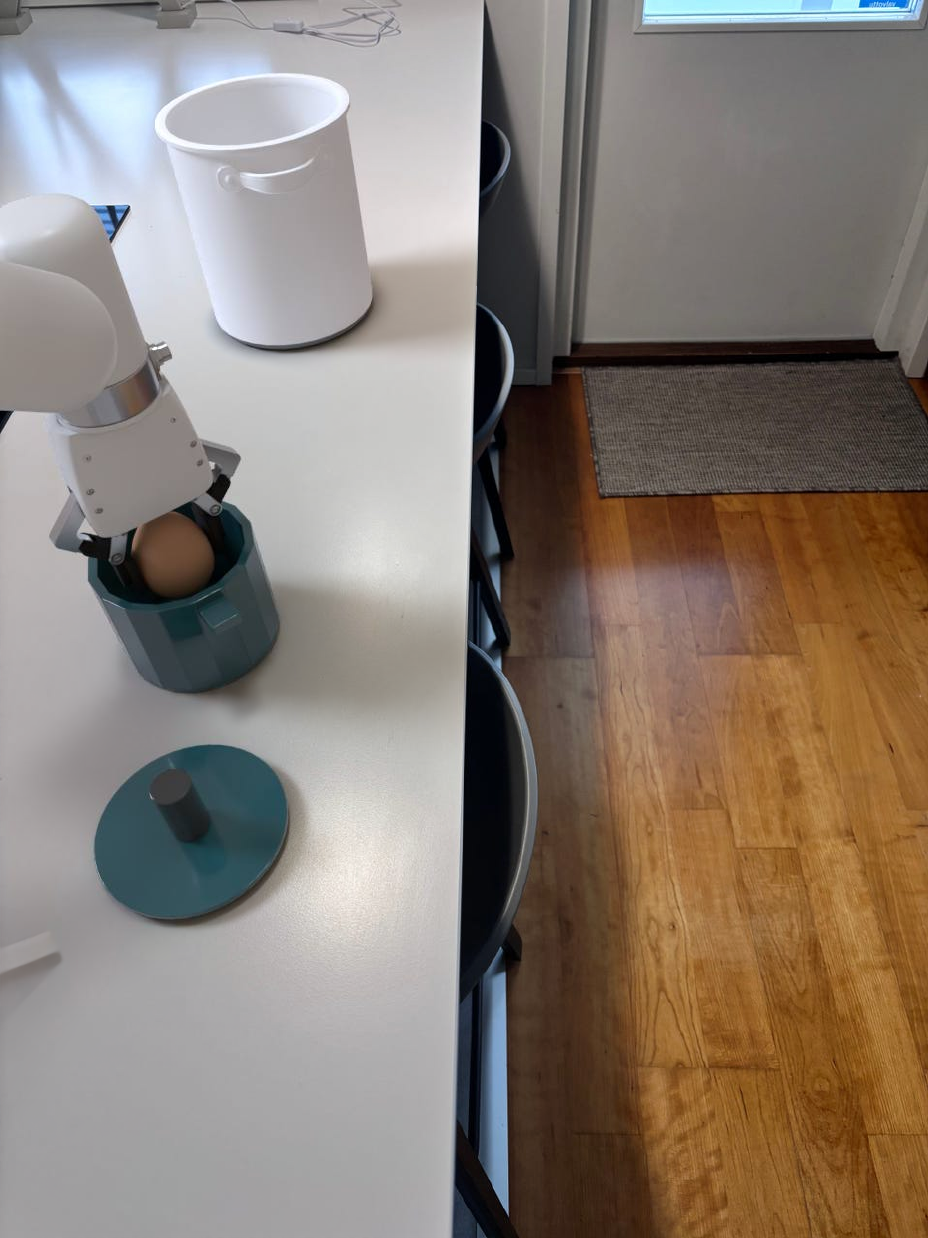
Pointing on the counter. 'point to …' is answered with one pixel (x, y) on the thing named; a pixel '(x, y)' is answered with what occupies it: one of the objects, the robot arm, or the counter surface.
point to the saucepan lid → (191, 831)
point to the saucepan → (196, 615)
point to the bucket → (272, 205)
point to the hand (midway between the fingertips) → (176, 564)
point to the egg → (173, 556)
